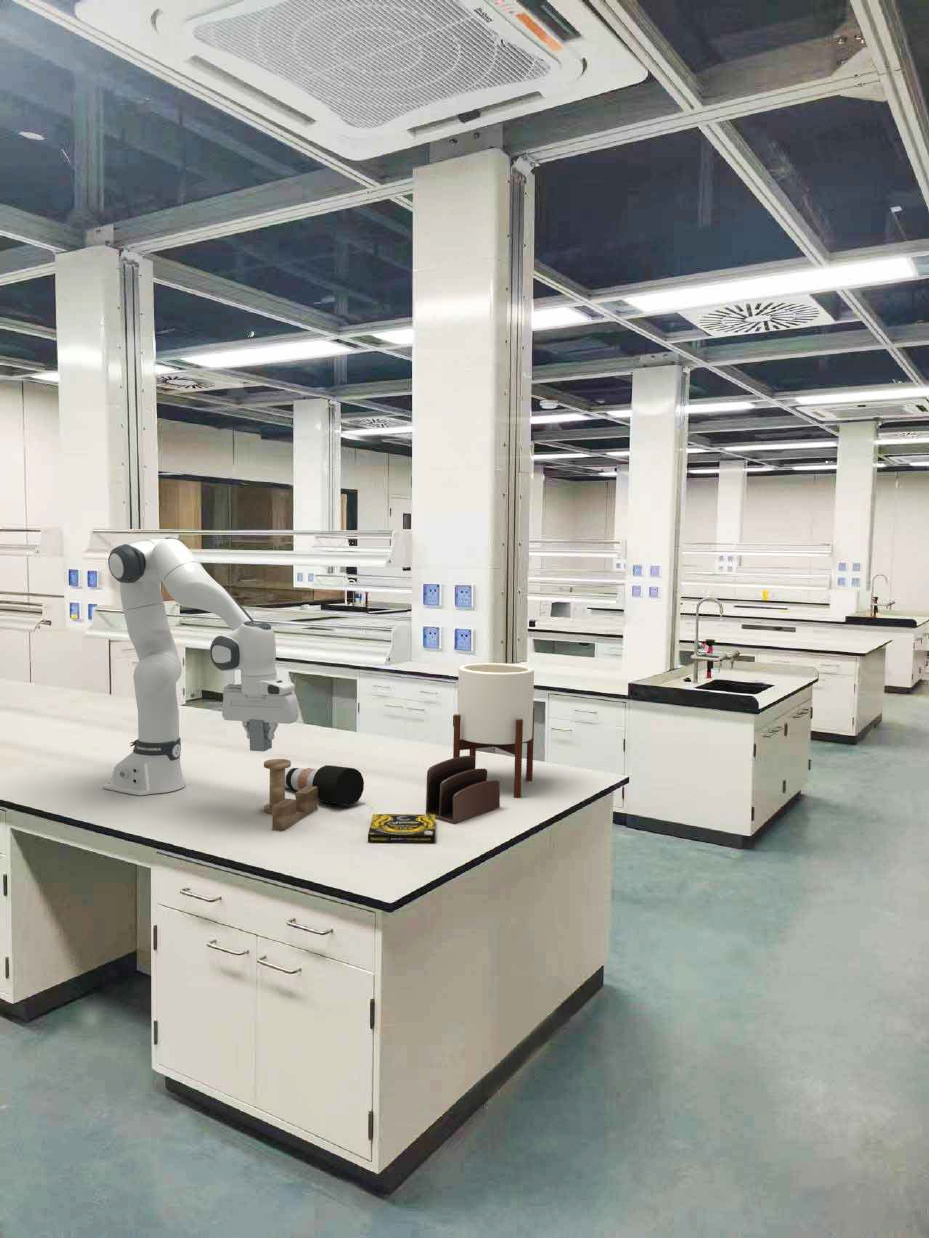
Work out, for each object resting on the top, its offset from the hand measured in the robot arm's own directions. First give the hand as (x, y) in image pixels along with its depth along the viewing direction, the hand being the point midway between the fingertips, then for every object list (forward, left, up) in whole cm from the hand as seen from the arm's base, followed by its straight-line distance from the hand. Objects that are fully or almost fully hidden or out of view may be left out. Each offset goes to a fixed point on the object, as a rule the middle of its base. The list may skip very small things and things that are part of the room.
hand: (260, 738), depth 215 cm
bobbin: (0, +8, -21) cm, 23 cm away
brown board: (+8, +3, -21) cm, 23 cm away
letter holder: (+48, +24, -21) cm, 57 cm away
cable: (+3, +24, -21) cm, 32 cm away
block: (0, 0, -3) cm, 3 cm away
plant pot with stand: (+49, +51, -21) cm, 74 cm away
